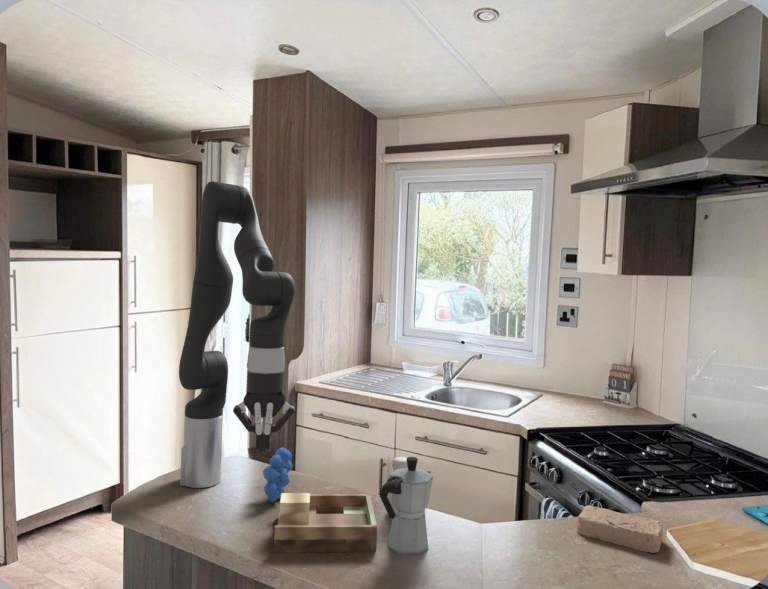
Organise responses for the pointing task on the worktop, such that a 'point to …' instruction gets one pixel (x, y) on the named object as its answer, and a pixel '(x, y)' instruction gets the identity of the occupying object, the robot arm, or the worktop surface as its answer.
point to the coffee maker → (408, 508)
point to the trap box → (331, 526)
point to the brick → (620, 528)
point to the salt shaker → (396, 464)
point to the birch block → (294, 509)
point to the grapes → (277, 474)
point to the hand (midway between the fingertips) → (262, 451)
